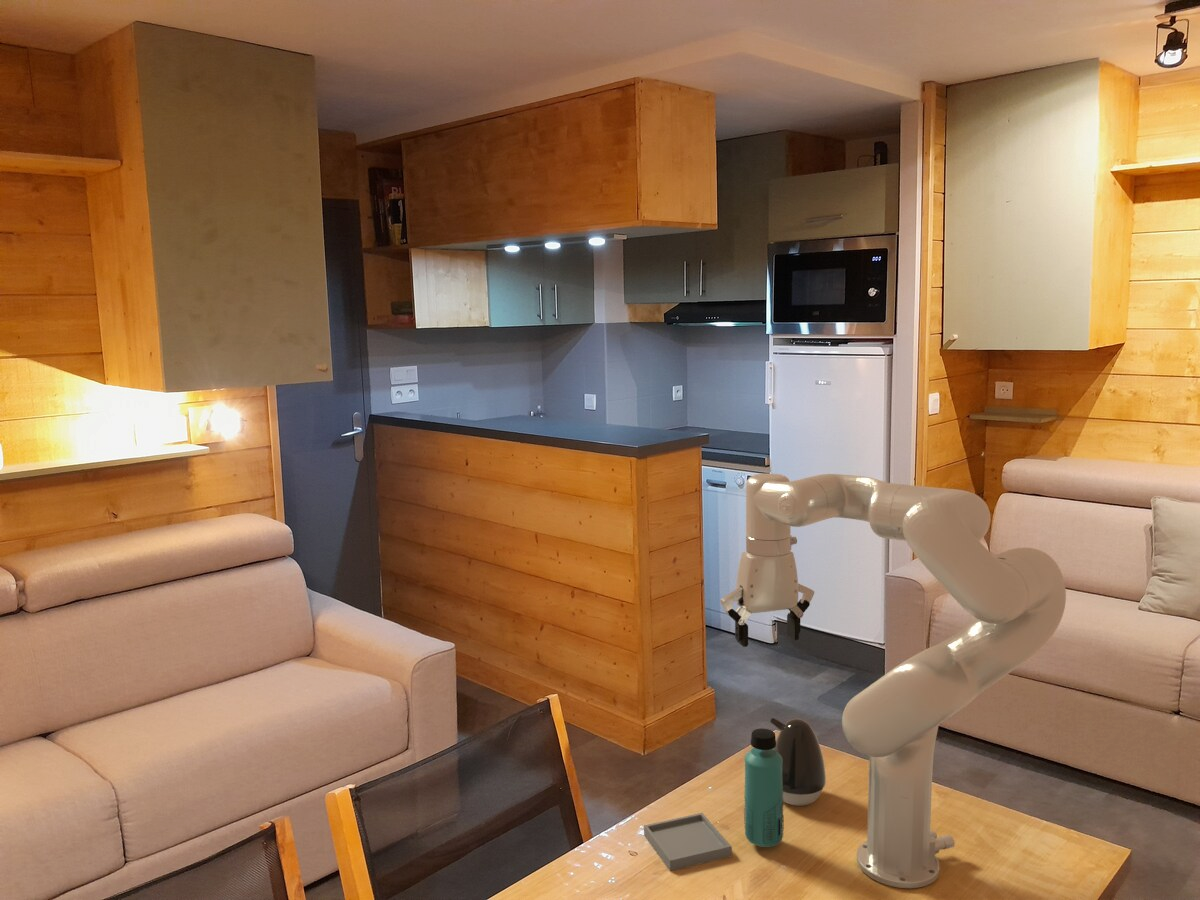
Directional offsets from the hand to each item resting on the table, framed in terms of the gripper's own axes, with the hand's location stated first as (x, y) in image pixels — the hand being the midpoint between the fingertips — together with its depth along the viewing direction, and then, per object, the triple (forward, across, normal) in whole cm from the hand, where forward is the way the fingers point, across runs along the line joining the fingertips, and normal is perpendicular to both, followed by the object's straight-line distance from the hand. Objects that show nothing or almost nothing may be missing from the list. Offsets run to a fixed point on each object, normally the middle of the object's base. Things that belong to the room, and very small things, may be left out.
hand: (767, 640), depth 162 cm
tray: (+31, +18, +7) cm, 37 cm away
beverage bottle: (+32, +6, +10) cm, 34 cm away
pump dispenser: (+32, -6, -1) cm, 32 cm away
